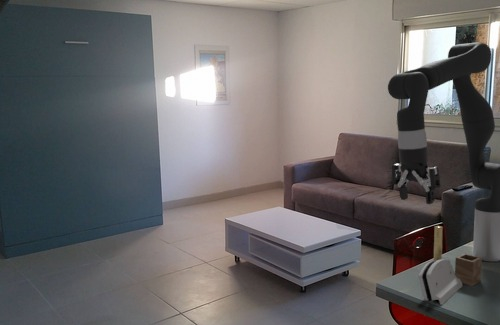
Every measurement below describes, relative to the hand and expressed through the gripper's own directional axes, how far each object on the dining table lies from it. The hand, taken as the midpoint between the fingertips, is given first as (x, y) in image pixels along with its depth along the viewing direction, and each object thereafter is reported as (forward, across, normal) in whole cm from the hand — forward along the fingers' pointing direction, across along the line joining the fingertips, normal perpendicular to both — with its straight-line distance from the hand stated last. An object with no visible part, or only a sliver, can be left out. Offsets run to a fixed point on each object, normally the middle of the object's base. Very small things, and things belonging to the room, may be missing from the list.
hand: (416, 201), depth 130 cm
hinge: (+29, -2, -4) cm, 29 cm away
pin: (+29, +7, -16) cm, 34 cm away
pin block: (+30, -3, -17) cm, 34 cm away
